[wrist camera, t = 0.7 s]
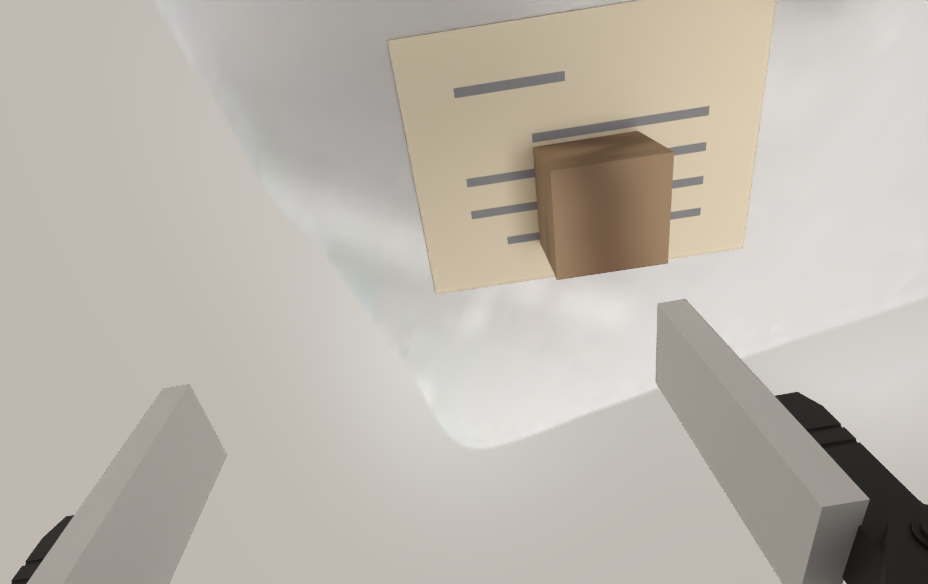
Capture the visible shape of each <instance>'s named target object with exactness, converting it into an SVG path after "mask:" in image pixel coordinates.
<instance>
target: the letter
mask: <svg viewBox="0 0 928 584" xmlns="http://www.w3.org/2000/svg"><path fill="white" fill-rule="evenodd" d="M775 6H776V0H637V1H631V2H625V3H618V4H612V5H606V6H600V7H594V8H587V9H581V10H575V11H569V12H562V13H556V14H550V15H544V16H538V17H531V18H525V19H519V20H513V21H507V22H500V23H494V24H488V25H482V26H476V27H469V28H463V29H457V30H451V31H444V32H438V33H432V34H426V35H420V36H413V37H407V38H401V39H395V40H389V41H387V42H388V47H389V53H390V58H391V63H392V68H393V73H394V79H395V84H396V89H397V94H398V99H399V105H400V110H401V115H402V120H403V125H404V131H405V136H406V141H407V146H408V151H409V157H410V162H411V167H412V172H413V177H414V182H415V188H416V193H417V198H418V203H419V208H420V214H421V219H422V224H423V229H424V234H425V240H426V245H427V250H428V255H429V260H430V266H431V271H432V276H433V281H434V286H435V292H436V294H442V293H448V292H455V291H462V290H468V289H475V288H481V287H488V286H495V285H501V284H508V283H515V282H521V281H528V280H535V279H541V278H548V277H555V274H554V272H553V270H552V268H551V266H550V264H549V262H548V259H547V257H546V255H545V253H544V251H543V249H542V246H541V244H540V236H539V223H538V209H537V196H536V183H535V170H534V157H533V147H537V146H543V145H550V144H556V143H563V142H569V141H575V140H582V139H588V138H595V137H601V136H608V135H614V134H620V133H627V132H633V131H639V132H641V133H643V134H644V135H646V136H648V137H649V138H651V139H653V140H655V141H656V142H658V143H660V144H661V145H663V146H665V147H667V148H668V149H670V150H672V151H673V152H674V164H673V182H672V200H671V218H670V235H669V253H668V259H674V258H681V257H688V256H694V255H701V254H708V253H714V252H721V251H728V250H734V249H741V248H743V246H744V238H745V231H746V223H747V216H748V208H749V201H750V193H751V186H752V178H753V171H754V163H755V156H756V148H757V141H758V133H759V126H760V118H761V111H762V103H763V96H764V88H765V81H766V73H767V66H768V58H769V51H770V43H771V36H772V28H773V21H774V13H775Z"/></svg>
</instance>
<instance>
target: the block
mask: <svg viewBox="0 0 928 584" xmlns="http://www.w3.org/2000/svg"><path fill="white" fill-rule="evenodd" d="M533 157H534V170H535V183H536V196H537V209H538V223H539V236H540V244H541V246H542V249H543V251H544V253H545V255H546V257H547V259H548V262H549V264H550V266H551V268H552V270H553V272H554V274H555V277H556V279H557V280H560V279H566V278H573V277H580V276H586V275H593V274H600V273H606V272H613V271H620V270H626V269H633V268H640V267H646V266H653V265H660V264H666V263H668V253H669V235H670V218H671V200H672V182H673V164H674V152H673V151H672V150H670V149H668V148H667V147H665V146H663V145H661V144H660V143H658V142H656V141H655V140H653V139H651V138H649V137H648V136H646V135H644V134H643V133H641V132H639V131H633V132H627V133H620V134H614V135H608V136H601V137H595V138H588V139H582V140H575V141H569V142H563V143H556V144H550V145H543V146H537V147H533Z"/></svg>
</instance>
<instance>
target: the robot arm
mask: <svg viewBox="0 0 928 584" xmlns="http://www.w3.org/2000/svg"><path fill="white" fill-rule="evenodd" d="M656 384H657V385H658V387H659V388H660V390H661V392H662V393H663V394H664V396H665V398H666V399H667V401H668V402H669V404H670V406H671V407H672V409H673V411H674V412H675V413H676V415H677V417H678V418H679V420H680V422H681V423H682V425H683V426H684V428H685V429H686V431H687V433H688V434H689V436H690V438H691V439H692V441H693V442H694V444H695V445H696V447H697V448H698V450H699V452H700V453H701V455H702V457H703V458H704V460H705V461H706V463H707V465H708V466H709V468H710V469H711V471H712V472H713V474H714V475H715V477H716V479H717V480H718V482H719V484H720V485H721V487H722V488H723V490H724V492H725V493H726V495H727V496H728V498H729V499H730V501H731V503H732V504H733V506H734V507H735V509H736V511H737V512H738V514H739V515H740V517H741V518H742V520H743V522H744V523H745V525H746V526H747V528H748V530H749V531H750V533H751V534H752V536H753V537H754V539H755V541H756V542H757V544H758V545H759V547H760V549H761V550H762V552H763V553H764V555H765V557H766V558H767V560H768V561H769V563H770V565H771V566H772V568H773V569H774V571H775V572H776V574H777V576H778V577H779V579H780V580H781V582H782V584H842V583H843V580H844V581H845V582H846V583H847V584H928V505H926V504H923V503H922V502H921V501H919V500H918V499H917V498H916V497H915V496H914V495H913V494H911V492H910V491H908V489H907V488H906V487H905V486H904V485H903V484H902V483H901V482H900V481H898V480H897V479H896V478H895V477H894V476H893V475H892V474H891V473H890V472H889V471H888V470H887V469H886V468H885V467H884V466H883V465H882V464H881V463H880V462H879V461H878V460H877V459H876V458H875V457H874V456H873V455H872V454H871V453H870V452H869V451H868V450H867V449H866V448H865V447H864V446H863V445H862V444H861V443H857V441H856V438H855V437H854V436H852V434H851V433H850V432H849V431H847V429H845V427H844V428H842V427H841V424H840V423H839V422H838V421H837V420H836V419H835V418H834V417H833V416H832V415H831V414H830V413H829V412H828V411H827V410H826V409H825V408H824V407H823V406H822V405H820V404H818V403H816V402H815V401H813V400H811V399H809V398H807V397H805V396H804V395H802V394H800V393H798V392H795V393H789V394H783V395H777V396H774V395H773V394H772V392H771V391H769V389H768V388H767V387H766V386H765V385H764V384H763V383H762V382H761V381H760V379H759V378H758V377H757V376H756V375H755V374H754V373H753V372H752V371H751V370H750V369H749V368H748V366H747V365H746V364H745V363H744V362H743V361H742V360H741V359H740V358H739V357H738V356H737V354H736V353H735V352H734V351H733V350H732V349H731V348H730V347H729V346H728V345H727V344H726V342H725V341H724V340H723V339H722V338H721V337H720V336H719V335H718V334H717V333H716V332H715V331H714V329H713V328H712V327H711V326H710V325H709V324H708V323H707V322H706V321H705V320H704V319H703V317H702V316H701V315H700V314H699V313H698V312H697V311H696V310H695V309H694V308H693V307H692V305H691V304H690V303H689V302H688V301H687V300H686V299H681V300H676V301H670V302H664V303H658V309H657V347H656ZM226 456H227V453H226V452H225V450H224V448H223V446H222V444H221V442H220V440H219V439H218V437H217V435H216V433H215V431H214V429H213V427H212V425H211V423H210V421H209V419H208V418H207V416H206V414H205V412H204V410H203V408H202V406H201V404H200V403H199V401H198V399H197V397H196V395H195V394H194V391H193V389H192V388H191V385H190V384H187V385H181V386H176V387H170V388H164V389H162V391H161V392H160V394H159V395H158V396H157V398H156V399H155V401H154V402H153V404H152V405H151V407H150V408H149V409H148V411H147V412H146V414H145V415H144V416H143V418H142V419H141V421H140V422H139V424H138V425H137V426H136V428H135V429H134V431H133V432H132V434H131V435H130V436H129V438H128V439H127V441H126V442H125V444H124V445H123V447H122V448H121V449H120V451H119V452H118V454H117V455H116V456H115V458H114V459H113V461H112V462H111V464H110V465H109V466H108V468H107V469H106V471H105V472H104V474H103V475H102V476H101V478H100V479H99V481H98V482H97V484H96V485H95V487H94V488H93V490H92V491H91V492H90V494H89V495H88V497H87V498H86V499H85V501H84V502H83V504H82V505H81V507H80V508H79V509H78V511H77V512H76V514H75V515H72V516H67V517H65V518H64V519H63V520H62V521H61V522H60V523H58V524H57V525H56V526H55V527H54V528H53V529H52V530H51V531H50V532H49V533H48V534H47V535H45V536H44V537H43V538H42V540H41V541H40V542H39V544H38V545H37V546H36V548H35V549H34V551H33V552H32V553H31V555H30V556H29V558H28V559H27V560H26V565H25V566H22V567H21V568H20V570H19V571H18V572H17V574H16V575H15V577H14V578H13V579H12V584H169V583H170V581H171V579H172V577H173V574H174V572H175V570H176V568H177V566H178V563H179V561H180V559H181V557H182V555H183V552H184V550H185V548H186V546H187V543H188V541H189V539H190V537H191V534H192V532H193V530H194V527H195V525H196V523H197V521H198V519H199V516H200V514H201V512H202V510H203V508H204V505H205V503H206V501H207V499H208V496H209V494H210V492H211V490H212V488H213V485H214V483H215V481H216V479H217V476H218V474H219V472H220V470H221V467H222V465H223V463H224V461H225V459H226Z"/></svg>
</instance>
